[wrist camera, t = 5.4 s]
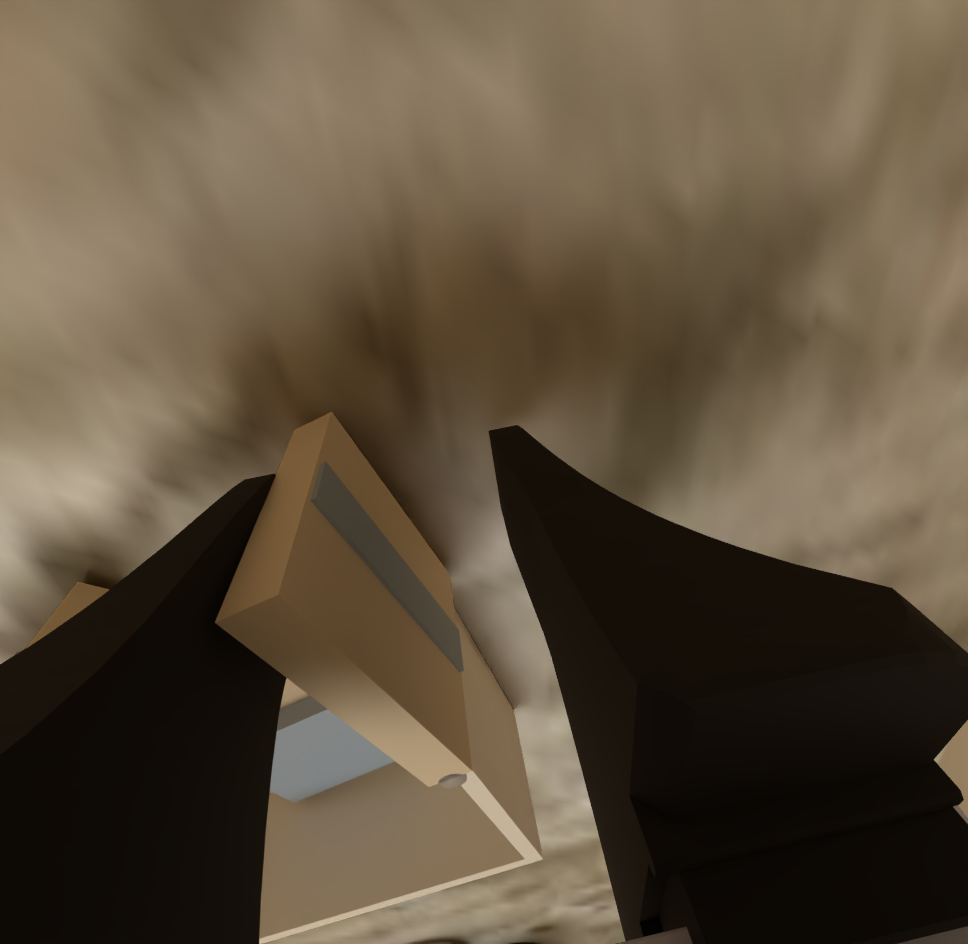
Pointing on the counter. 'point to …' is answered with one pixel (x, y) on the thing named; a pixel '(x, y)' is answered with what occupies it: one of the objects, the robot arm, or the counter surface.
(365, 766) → the booklet
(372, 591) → the flap right
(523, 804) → the carton
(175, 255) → the counter surface
